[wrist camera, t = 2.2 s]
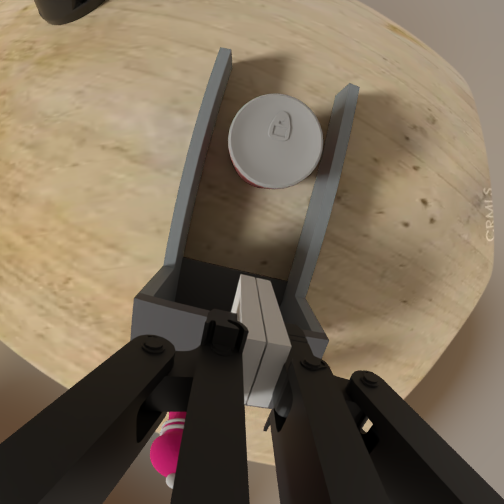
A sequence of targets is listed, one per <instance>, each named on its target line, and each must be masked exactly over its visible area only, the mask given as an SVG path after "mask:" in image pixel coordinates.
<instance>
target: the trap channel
mask: <svg viewBox="0 0 504 504" xmlns="http://www.w3.org/2000/svg"><path fill="white" fill-rule="evenodd" d="M231 70H232V52H231V49H226V48H220V50H219V53H218V55H217V58H216V61H215V64H214V67H213V70H212V73H211V76H210V79H209V82H208V85H207V88H206V91H205V94H204V97H203V101H202V104H201V107H200V110H199V114H198V117H197V121H196V124H195V128H194V131H193V135H192V138H191V142H190V146H189V150H188V153H187V157H186V161H185V165H184V169H183V173H182V177H181V182H180V186H179V190H178V195H177V199H176V204H175V208H174V213H173V218H172V223H171V228H170V233H169V238H168V243H167V248H166V254H165V260H164V265H163V267H162V268H161V269H160V270H159V271H158V272H157V273H156V274H155V275H154V276H153V278H152V279H151V280H150V281H149V282H148V283H147V284H146V285H145V286H144V287H143V289H142V290H141V291H140V292H139V293H138V294H137V295H136V296H135V298H134V304H133V314H132V326H131V340H132V339H134V338H136V337H138V336H140V335H147V334H148V335H157V336H160V337H163V338H165V339H167V340H169V341H170V342H171V343H172V344H173V345H174V347H175V350H176V351H189V350H193V349H196V348H197V347H198V346H200V344H201V339H202V334H203V330H204V325H205V322H206V319H207V315H208V312H210V311H211V310H213V309H219V310H223V311H227V312H231V311H232V307H233V303H234V299H235V295H236V291H237V287H238V283H239V279H240V275H241V274H242V275H247V276H251V277H255V280H256V278H260V279H264V280H269V281H271V284H272V287H273V290H274V294H275V297H276V300H277V303H278V306H279V309H280V312H281V315H282V318H283V321H284V322H285V323H291V324H296V325H297V326H298V327H300V328H301V329H302V330H303V332H304V334H305V336H306V339H307V341H308V344H309V346H310V348H311V350H312V353H313V355H314V356H316V357H318V358H320V359H322V356H323V354H324V352H325V349H326V347H327V344H328V342H329V339H328V337H327V336H326V334H325V332H324V330H323V329H322V327H321V325H320V323H319V321H318V320H317V318H316V316H315V314H314V313H313V311H312V309H311V307H310V306H309V304H308V302H307V300H306V299H305V297H306V294H307V291H308V288H309V285H310V282H311V279H312V275H313V272H314V269H315V266H316V262H317V259H318V256H319V252H320V249H321V246H322V242H323V239H324V235H325V232H326V228H327V225H328V221H329V218H330V214H331V210H332V206H333V203H334V199H335V195H336V191H337V187H338V183H339V179H340V175H341V171H342V167H343V163H344V159H345V155H346V150H347V146H348V141H349V137H350V132H351V128H352V123H353V118H354V113H355V109H356V104H357V98H358V93H359V88H360V87H358V86H356V85H353V84H351V83H349V84H348V85H347V86H346V87H345V88H344V89H342V90H341V91H340V92H339V93H338V94H337V95H336V96H335V100H334V105H333V109H332V114H331V118H330V123H329V127H328V131H327V136H326V140H325V144H324V148H323V152H322V156H321V160H320V164H319V168H318V172H317V176H316V180H315V184H314V188H313V192H312V196H311V199H310V203H309V207H308V211H307V214H306V218H305V222H304V225H303V229H302V233H301V236H300V240H299V243H298V247H297V250H296V254H295V257H294V261H293V264H292V268H291V271H290V274H289V278H288V281H284V280H280V279H275V278H271V277H266V276H262V275H258V274H253V273H249V272H245V271H240V270H236V269H232V268H227V267H223V266H219V265H215V264H210V263H206V262H202V261H198V260H194V259H190V258H186V257H183V255H184V250H185V245H186V241H187V236H188V231H189V226H190V222H191V217H192V213H193V208H194V204H195V200H196V195H197V191H198V187H199V183H200V179H201V175H202V171H203V167H204V163H205V159H206V155H207V151H208V147H209V144H210V140H211V136H212V133H213V129H214V126H215V122H216V119H217V115H218V112H219V108H220V105H221V101H222V98H223V95H224V92H225V88H226V85H227V82H228V79H229V76H230V73H231ZM131 340H130V341H131ZM244 405H247V401H246V404H244ZM273 405H274V404H273V398H272V399H271V401H270V404H269V406H268V408H269V409H272V408H273ZM247 406H251V405H247ZM254 407H258V406H254ZM261 408H266V407H261Z"/></svg>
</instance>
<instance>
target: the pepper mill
mask: <svg viewBox="0 0 504 504" xmlns="http://www.w3.org/2000/svg"><path fill="white" fill-rule="evenodd" d="M185 418H186V412H169V419H168V421H166V422H165V423H164V424H163V425H162V429H161V432H160V436H159V437H158V438H156V439H155V440H154V442H153V443H152V446H151V450H150V458H151V462H152V464H153V466H154V468H155V469H156V470H157V471H158V472H159V473H160V474H162V475H163V476H165V477H167V478H166V483H167V485H168V486H169V487H170V488H172V489H173V485H174V479H175V473H176V467H177V461H178V455H179V450H180V444H181V439H182V433H183V428H184V423H185Z"/></svg>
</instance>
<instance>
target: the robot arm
mask: <svg viewBox="0 0 504 504" xmlns="http://www.w3.org/2000/svg"><path fill="white" fill-rule="evenodd" d="M103 1H104V0H34V2H35V4H36V6H37V8H38V11H39V14H40V16H41V17H42V18H43V19H44V20H45V21H47V22H48V23H50V24H52V25H62V24H66V23H69V22H72V21H74V20H76V19H78V18H80V17H82V16H84V15H86V14H87V13H89V12H90V11H92V10H93V9H95V8H96V7H97V6H98V5H100V4H101V3H102V2H103ZM272 398H273V404H274V405H273V408H272V410H271V412H270V415H269V417H268V419H267V422H266V424H265V426H264V431H267V429H268V427H269V426H270V425H271V433H272V441H273V449H274V457H275V465H276V473H277V481H278V489H279V497H280V504H504V499H503V498H502V497H501V496H500V495H499V494H498V493H497V492H496V491H495V490H494V489H493V488H492V487H491V486H490V485H489V484H488V483H487V482H486V481H485V480H484V479H483V478H482V477H481V476H480V475H479V474H478V473H477V472H476V471H474V469H472V467H470V465H468V464H467V462H466V461H465V460H464V459H462V458H461V456H460V455H458V454H457V453H456V451H454V450H453V449H452V448H451V447H450V446H449V445H448V444H447V443H446V442H445V441H444V440H443V439H442V438H441V437H440V436H439V435H438V434H437V433H436V432H435V431H434V430H433V429H432V428H431V427H430V426H429V425H428V424H427V423H426V422H425V421H424V420H423V419H422V418H421V417H420V416H419V415H418V414H417V413H416V412H415V411H414V410H413V409H412V408H411V407H410V406H409V405H408V404H407V403H406V402H405V401H404V400H403V399H402V398H401V397H400V396H399V395H398V394H397V393H396V392H395V391H394V390H393V389H392V388H391V387H390V386H389V385H388V384H387V383H386V382H385V381H384V380H383V379H382V378H380V377H379V376H378V375H376V374H374V373H373V372H370V371H361V370H359V371H355V372H354V373H353V374H352V376H351V378H350V380H347V379H344V378H340V377H337V376H334V375H333V374H332V371H331V369H330V367H329V366H328V364H327V363H326V362H325V361H323V360H322V359H320V358H318V357H316V356H314V355H313V353H312V350H311V348H310V346H309V344H308V341H307V339H306V336H305V334H304V332H303V330H302V329H301V328H300V327H298V326H297V325H296V324H291V323H285V322H284V321H283V318H282V315H281V312H280V309H279V306H278V303H277V300H276V297H275V294H274V290H273V287H272V284H271V281H269V280H264V279H260V278H256V280H255V277H251V276H247V275H242V274H241V275H240V279H239V283H238V287H237V291H236V295H235V299H234V303H233V307H232V311H231V312H227V311H223V310H219V309H213V310H211V311H210V312H208V315H207V319H206V322H205V325H204V330H203V334H202V339H201V344H200V346H198V347H197V348H196V349H193V350H189V351H176V350H175V347H174V345H173V344H172V343H171V342H170V341H169V340H167V339H165V338H163V337H160V336H157V335H148V334H147V335H140V336H138V337H136V338H134V339H132V340H131V341H130V342H129V343H127V344H126V345H125V346H124V347H122V348H121V349H120V350H118V351H117V352H116V353H115V354H113V355H112V356H111V357H110V358H108V359H107V360H106V361H104V362H103V363H102V364H101V365H99V366H98V367H97V368H96V369H94V370H93V371H92V372H90V373H89V374H88V375H87V376H85V377H84V378H83V379H82V380H80V381H79V382H78V383H76V384H75V385H74V386H73V387H71V388H70V389H69V390H68V391H66V392H65V393H64V394H63V395H61V396H60V397H59V398H58V399H56V400H55V401H54V402H53V403H51V404H50V405H49V406H47V407H46V408H45V409H44V410H42V411H41V412H40V413H39V414H37V415H36V416H35V417H34V418H32V419H31V420H30V421H29V422H27V423H26V424H25V425H24V426H22V427H21V428H20V429H18V430H17V431H16V432H15V433H13V434H12V435H11V436H10V437H8V438H7V439H6V440H5V441H3V442H2V443H1V444H0V504H102V503H103V502H104V501H105V500H106V498H107V497H108V495H109V494H110V493H111V491H112V490H113V489H114V487H115V486H116V485H117V483H118V482H119V480H120V479H121V478H122V476H123V475H124V474H125V472H126V471H127V469H128V468H129V467H130V465H131V464H132V463H133V461H134V460H135V458H136V457H137V456H138V454H139V453H140V452H141V450H142V449H143V447H144V446H145V445H146V443H147V442H148V440H149V439H150V437H151V436H152V435H153V433H154V432H155V430H156V429H157V428H158V426H159V425H160V423H161V422H162V420H163V419H164V418H165V416H166V414H167V412H186V418H185V423H184V428H183V433H182V439H181V444H180V450H179V455H178V461H177V467H176V473H175V479H174V485H173V492H172V497H171V504H249V486H248V467H247V448H246V428H245V406H244V404H246V401H247V405H251V406H258V407H266V408H268V406H269V404H270V401H271V399H272ZM368 418H369V420H370V421H371V422H372V423H373V425H372V427H371V428H370V429H369V431H368V432H365V431H364V430H363V429H362V427H363V426H364V424H365V423H366V421H367V420H368Z"/></svg>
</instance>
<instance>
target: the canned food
mask: <svg viewBox="0 0 504 504" xmlns="http://www.w3.org/2000/svg"><path fill="white" fill-rule="evenodd" d="M228 147H229V153H230V157H231V160H232V163H233V166H234V168H235V170H236V172H237V173H238V175H239V176H240V177H241V178H242V179H243V180H244V181H245V182H246V183H248V184H250V185H252V186H255V187H258V188H266V189H281V188H286V187H290V186H293V185H295V184H297V183H299V182H301V181H302V180H303V179H305V178H306V177H307V176H309V175H310V173H311V172H312V171H313V170H314V169H315V167H316V165H317V164H318V162H319V160H320V157H321V154H322V149H323V133H322V129H321V126H320V123H319V121H318V119H317V117H316V116H315V114H314V113H313V112H312V110H311V109H310V108H309V107H308V106H307V105H305V104H304V103H303V102H301V101H300V100H298V99H296V98H294V97H291V96H288V95H284V94H266V95H262V96H259V97H257V98H254V99H252V100H251V101H249V102H248V103H246V104H245V105H244V106H243V107H242V108H241V109H240V110H239V111H238V113H237V114H236V116H235V117H234V119H233V121H232V124H231V127H230V130H229V136H228Z"/></svg>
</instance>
